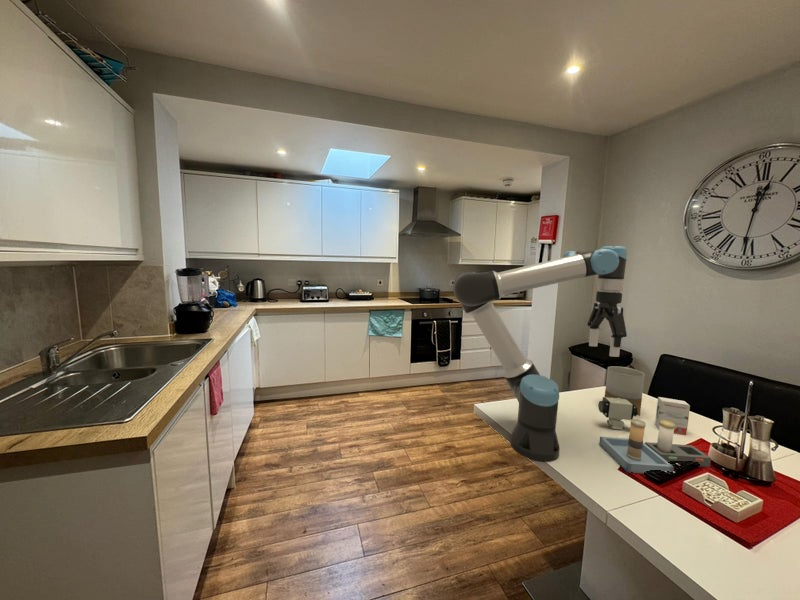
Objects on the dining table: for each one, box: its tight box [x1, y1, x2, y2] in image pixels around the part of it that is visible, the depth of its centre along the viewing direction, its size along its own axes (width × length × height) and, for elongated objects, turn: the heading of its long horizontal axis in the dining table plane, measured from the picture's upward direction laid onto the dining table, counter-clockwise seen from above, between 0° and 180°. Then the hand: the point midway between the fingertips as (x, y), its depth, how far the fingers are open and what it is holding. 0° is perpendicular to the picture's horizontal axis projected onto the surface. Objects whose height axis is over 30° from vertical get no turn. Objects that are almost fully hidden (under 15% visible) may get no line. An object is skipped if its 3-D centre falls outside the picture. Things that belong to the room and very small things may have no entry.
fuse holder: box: [644, 441, 712, 468], centre depth 102 cm, size 15×7×3 cm, turn 86°
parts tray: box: [598, 436, 675, 474], centre depth 101 cm, size 13×15×3 cm
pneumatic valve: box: [597, 396, 638, 431], centre depth 121 cm, size 6×12×12 cm, turn 79°
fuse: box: [656, 420, 675, 453], centre depth 102 cm, size 4×4×12 cm
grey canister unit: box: [604, 365, 646, 416], centre depth 136 cm, size 13×13×18 cm
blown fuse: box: [626, 418, 647, 461], centre depth 101 cm, size 4×4×12 cm
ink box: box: [654, 396, 691, 436], centre depth 121 cm, size 9×5×12 cm, turn 65°
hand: (602, 350), depth 112 cm, fingers open, 13 cm apart
